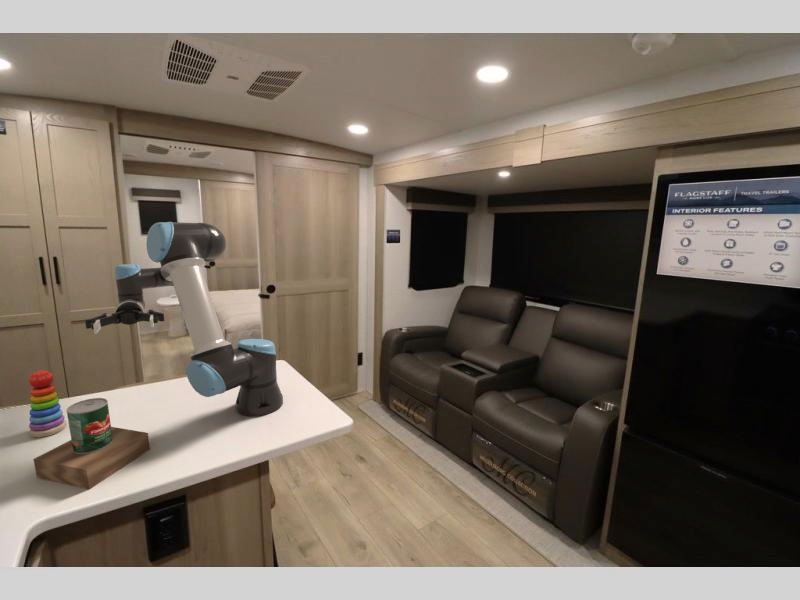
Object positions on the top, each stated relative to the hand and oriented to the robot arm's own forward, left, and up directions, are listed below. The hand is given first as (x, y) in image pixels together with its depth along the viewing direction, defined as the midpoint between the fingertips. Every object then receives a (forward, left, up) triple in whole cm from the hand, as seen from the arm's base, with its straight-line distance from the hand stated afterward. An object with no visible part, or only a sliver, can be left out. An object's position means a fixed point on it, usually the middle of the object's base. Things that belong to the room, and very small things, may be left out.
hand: (124, 326), depth 110 cm
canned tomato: (-10, +21, -25) cm, 34 cm away
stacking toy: (+17, +13, -30) cm, 37 cm away
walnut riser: (-11, +21, -30) cm, 38 cm away
